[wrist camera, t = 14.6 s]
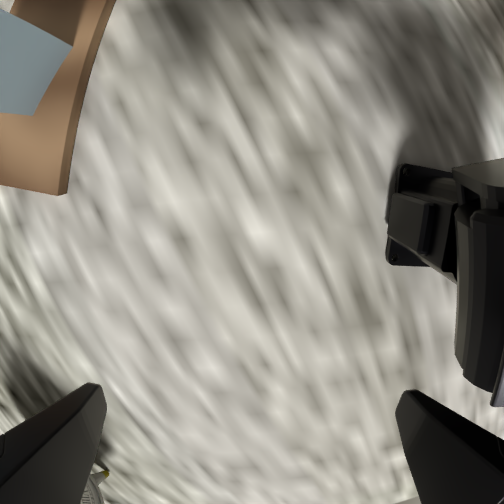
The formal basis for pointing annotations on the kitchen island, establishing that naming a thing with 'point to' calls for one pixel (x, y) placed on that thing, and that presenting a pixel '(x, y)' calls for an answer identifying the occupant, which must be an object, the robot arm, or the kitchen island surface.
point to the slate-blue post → (26, 63)
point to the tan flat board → (53, 97)
